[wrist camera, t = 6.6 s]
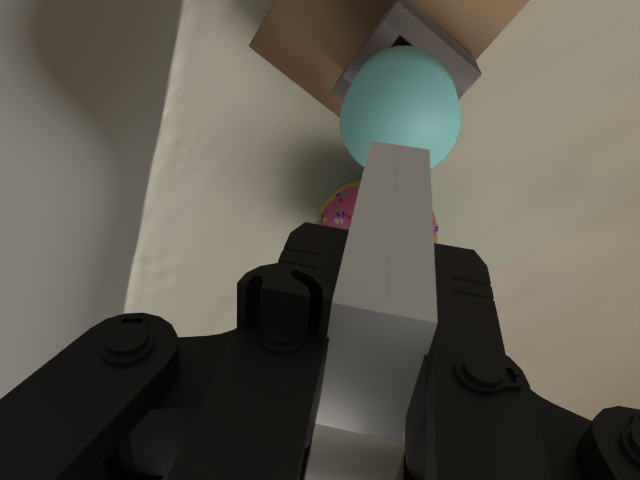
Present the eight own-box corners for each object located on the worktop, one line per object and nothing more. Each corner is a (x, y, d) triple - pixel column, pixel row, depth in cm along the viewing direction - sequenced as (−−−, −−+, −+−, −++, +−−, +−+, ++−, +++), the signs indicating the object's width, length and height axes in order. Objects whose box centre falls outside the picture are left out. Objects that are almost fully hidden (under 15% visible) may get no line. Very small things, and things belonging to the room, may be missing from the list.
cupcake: (419, 140, 34) (419, 222, 24) (449, 239, 38) (460, 346, 28) (309, 174, 37) (269, 260, 27) (347, 262, 41) (324, 367, 31)
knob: (408, 136, 27) (404, 198, 20) (342, 83, 26) (316, 131, 19) (469, 68, 24) (488, 113, 18) (399, 7, 23) (391, 32, 17)
